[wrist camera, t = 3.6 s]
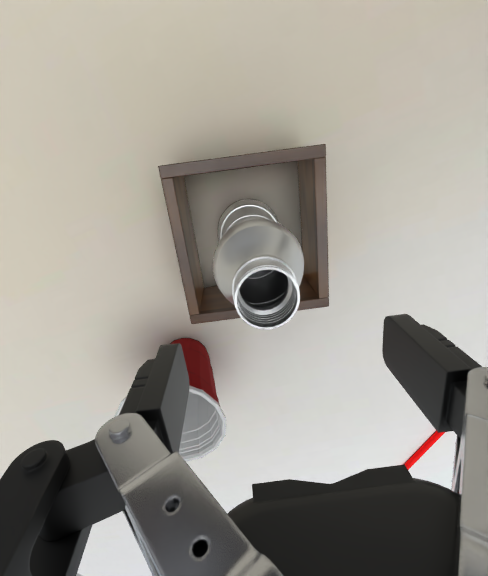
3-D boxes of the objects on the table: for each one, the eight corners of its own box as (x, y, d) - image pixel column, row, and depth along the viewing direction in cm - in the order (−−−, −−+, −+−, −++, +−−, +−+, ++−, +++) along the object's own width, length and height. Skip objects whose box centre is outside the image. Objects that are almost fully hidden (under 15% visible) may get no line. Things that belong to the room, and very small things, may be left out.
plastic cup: (138, 382, 42) (106, 461, 31) (151, 312, 39) (120, 374, 28) (216, 397, 44) (212, 476, 33) (236, 331, 40) (239, 396, 29)
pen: (471, 398, 46) (477, 404, 45) (391, 480, 52) (394, 487, 51) (467, 396, 46) (472, 402, 45) (387, 479, 52) (390, 485, 51)
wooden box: (172, 165, 33) (158, 166, 26) (305, 147, 32) (325, 143, 26) (198, 295, 38) (191, 324, 31) (311, 280, 38) (329, 306, 31)
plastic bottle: (222, 259, 37) (215, 359, 18) (215, 199, 34) (197, 244, 15) (277, 253, 37) (326, 347, 18) (274, 193, 34) (328, 231, 16)
